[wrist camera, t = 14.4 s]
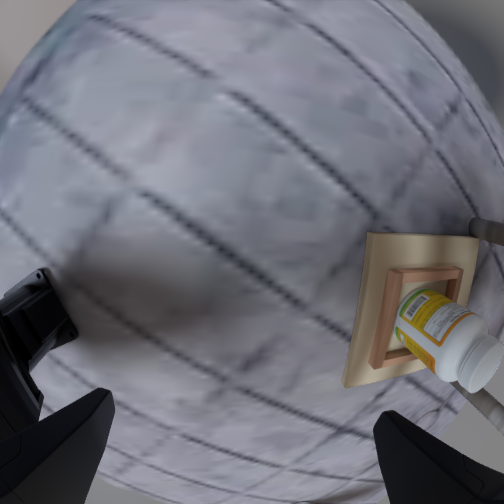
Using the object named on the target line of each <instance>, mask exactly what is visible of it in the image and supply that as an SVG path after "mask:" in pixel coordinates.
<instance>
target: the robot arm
mask: <svg viewBox="0 0 504 504" xmlns="http://www.w3.org/2000/svg"><path fill="white" fill-rule="evenodd" d="M39 274H40V275H41V277H40V276H39ZM71 332H73V333H74V335H73V334H72V333H71ZM78 335H79V334H78V331H77V329H76V328H75V326H74V324H73V323H72V321H71V320H70V318H69V316H68V315H67V313H66V311H65V310H64V308H63V306H62V304H61V303H60V301H59V299H58V297H57V295H56V293H55V292H54V290H53V288H52V286H51V284H50V282H49V280H48V278H47V276H46V274H45V272H44V271H43V270H42V269H37V270H36V271H34V272H33V273H31V274H30V275H29V276H27V277H26V278H25V279H23V280H22V281H21V282H19V283H18V284H17V285H15V286H14V287H13V288H11V289H10V290H9V291H7V292H6V293H5V294H4V298H2V299H1V300H0V504H84V503H85V500H86V497H87V494H88V492H89V489H90V486H91V483H92V481H93V478H94V476H95V473H96V471H97V468H98V465H99V463H100V460H101V458H102V455H103V453H104V450H105V447H106V443H107V439H108V436H109V432H110V428H111V425H112V421H113V417H114V414H115V405H114V401H113V396H112V392H111V391H110V390H107V389H104V388H97V389H95V390H93V391H92V392H90V393H88V394H87V395H85V396H83V397H81V398H80V399H78V400H76V401H75V402H73V403H71V404H69V405H68V406H66V407H64V408H62V409H61V410H59V411H57V412H55V413H53V414H52V415H50V416H48V417H46V418H44V419H43V420H41V421H39V416H40V412H41V408H42V403H43V399H44V396H43V394H42V392H41V391H40V390H39V389H38V388H37V386H36V384H35V382H34V381H33V379H32V377H31V375H30V372H31V371H32V370H33V369H34V367H35V366H36V365H37V364H38V363H39V361H40V360H41V359H42V358H43V357H44V356H45V355H46V353H47V352H48V351H49V350H52V349H54V348H56V347H59V346H61V345H63V344H66V343H68V342H70V341H73V340H75V339H76V338H77V337H78ZM38 421H39V422H38ZM373 434H374V439H375V445H376V450H377V455H378V461H379V466H380V469H381V473H382V476H383V480H384V483H385V486H386V490H387V494H388V497H389V501H390V504H504V474H503V473H500V472H498V471H496V470H493V469H491V468H489V467H486V466H484V465H482V464H480V463H478V462H476V461H474V460H472V459H470V458H469V457H467V456H465V455H464V454H462V453H460V452H459V451H457V450H455V449H454V448H452V447H450V446H449V445H447V444H445V443H444V442H442V441H441V440H439V439H437V438H436V437H434V436H433V435H431V434H429V433H428V432H426V431H425V430H423V429H422V428H420V427H419V426H417V425H415V424H414V423H412V422H411V421H409V420H408V419H406V418H405V417H403V416H402V415H400V414H399V413H397V412H396V411H394V410H389V411H384V412H382V414H381V415H380V417H379V418H378V420H377V422H376V423H375V425H374V428H373Z"/></svg>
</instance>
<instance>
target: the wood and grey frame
mask: <svg viewBox="0 0 504 504" xmlns="http://www.w3.org/2000/svg"><path fill="white" fill-rule="evenodd" d="M469 232H470V235H471V236H472V237H468V236H451V235H432V234H411V233H387V232H367V237H366V247H365V256H364V265H363V273H362V280H361V287H360V294H359V300H358V306H357V312H356V318H355V323H354V328H353V334H352V338H351V343H350V348H349V353H348V357H347V361H346V366H345V370H344V374H343V378H342V384H343V385H344V387H345V388H350V387H355V386H360V385H364V384H369V383H373V382H378V381H382V380H386V379H390V378H394V377H398V376H401V375H405V374H408V373H412V372H415V371H419V370H422V369H425V368H428V367H427V366H426V365H425V364H424V363H423V362H422V361H421V360H419V359H418V358H417V357H416V356H415V355H414V354H413V353H412V352H411V351H410V350H409V349H408V348H406V347H405V346H404V345H403V344H402V343H401V342H400V341H399V340H398V339H397V338H396V336H395V334H394V330H393V325H394V320H395V316H396V311H397V309H398V307H399V305H400V303H401V302H402V301H403V299H404V298H405V297H406V296H407V295H408V294H410V293H411V292H412V291H414V290H416V289H418V288H429V289H432V290H434V291H436V292H438V293H439V294H441V295H443V296H445V297H447V298H448V299H450V300H452V301H454V302H455V303H457V304H459V305H461V306H463V307H464V308H466V306H467V303H468V299H469V295H470V290H471V286H472V281H473V277H474V272H475V266H476V261H477V255H478V248H479V241H480V239H482V240H486V241H489V242H492V243H496V244H499V245H502V246H504V224H503V223H498V222H494V221H489V220H485V219H480V218H473V219H472V220H471V222H470V225H469ZM449 383H450V384H452V385H453V386H454V387H455V388H456V389H457V390H458V391H459V392H460V393H461V394H462V395H463V396H464V397H465V398H466V399H467V400H468V401H469V402H470V403H471V404H472V405H473V406H474V407H475V408H477V410H479V411H480V412H481V413H482V414H483V415H484V416H485V417H486V418H487V419H488V420H489V421H490V422H491V423H492V424H493V425H494V426H495V427H496V428H497V429H498V430H499V431H500V432H501V434H502V435H503V436H504V406H503V405H502V404H501V403H499V402H498V401H497V400H496V399H495V398H494V397H493V396H492V395H490V394H489V393H488V392H487V391H486V390H485V389H484V388H483V387H482V388H481V389H480V390H479V391H477V392H475V393H469V392H468V391H467V390H466V389H465V388H463V387H462V386H461V385H460V384H459V382H458V380H457V381H454V382H449Z"/></svg>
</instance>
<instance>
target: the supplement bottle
mask: <svg viewBox="0 0 504 504" xmlns="http://www.w3.org/2000/svg"><path fill="white" fill-rule="evenodd" d="M393 330H394V334H395V336H396V338H397V339H398V340H399V341H400V342H401V343H402V344H403V345H404V346H405V347H406V348H408V349H409V350H410V351H411V352H412V353H413V354H414V355H415V356H416V357H417V358H418V359H419V360H421V361H422V362H423V363H424V364H425V365H426V366H427V367H428V368H429V369H430V370H431V371H432V372H433V373H434V374H435V375H436V376H438V377H439V378H440V379H441V380H443V381H445V382H454V381H457V380H458V382H459V384H460V385H461V386H462V387H463V388H465V389H466V390H467V391H468V392H469V393H475V392H477V391H479V390H480V389H481V388H482V387H483V386H485V384H486V383H487V382H488V381H489V380H490V379H491V377H492V376H493V374H494V373H495V371H496V370H497V368H498V366H499V364H500V362H501V359H502V357H503V352H504V345H503V343H502V342H501V341H499V340H498V339H497V338H495V337H494V336H492V335H488V327H487V324H486V322H485V320H484V319H483V318H481V317H480V316H478V315H477V314H475V313H473V312H471V311H470V310H468V309H466V308H464V307H463V306H461V305H459V304H457V303H455V302H454V301H452V300H450V299H448V298H447V297H445V296H443V295H441V294H439V293H438V292H436V291H434V290H432V289H429V288H418V289H416V290H414V291H412V292H411V293H410V294H408V295H407V296H406V297H405V298H404V299H403V301H402V302H401V303H400V305H399V307H398V309H397V311H396V316H395V320H394V325H393Z"/></svg>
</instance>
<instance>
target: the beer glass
mask: <svg viewBox="0 0 504 504" xmlns="http://www.w3.org/2000/svg"><path fill="white" fill-rule="evenodd" d="M293 504H312V503H311V502H298V503H293Z"/></svg>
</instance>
